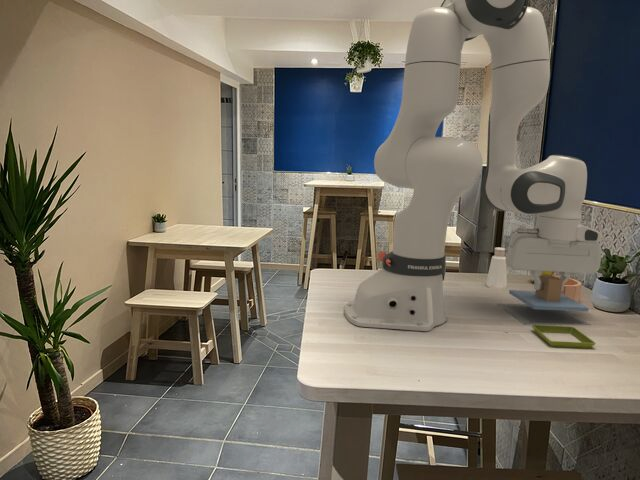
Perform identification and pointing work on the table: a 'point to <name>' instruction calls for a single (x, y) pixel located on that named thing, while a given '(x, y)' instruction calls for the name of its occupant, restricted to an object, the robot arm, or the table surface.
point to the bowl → (571, 289)
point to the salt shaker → (497, 270)
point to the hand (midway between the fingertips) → (548, 290)
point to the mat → (541, 315)
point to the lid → (548, 296)
